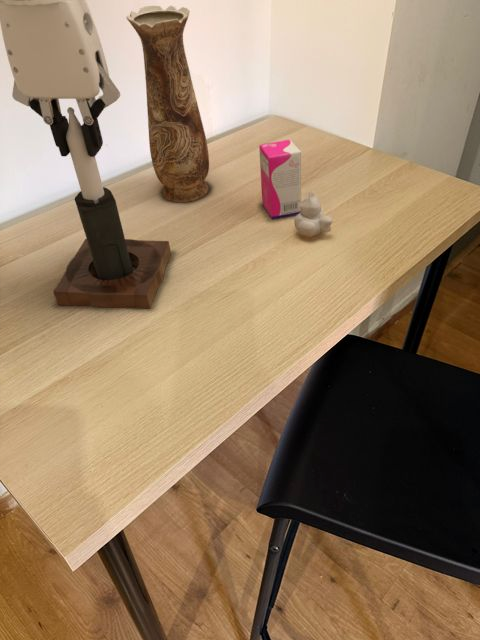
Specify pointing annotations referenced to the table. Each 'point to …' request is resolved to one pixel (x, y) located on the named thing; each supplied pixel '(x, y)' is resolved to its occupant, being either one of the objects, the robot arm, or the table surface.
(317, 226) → the white animal figurine
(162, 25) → the vase
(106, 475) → the table surface
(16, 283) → the table surface
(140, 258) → the hole plate
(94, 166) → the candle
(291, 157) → the supplement box
